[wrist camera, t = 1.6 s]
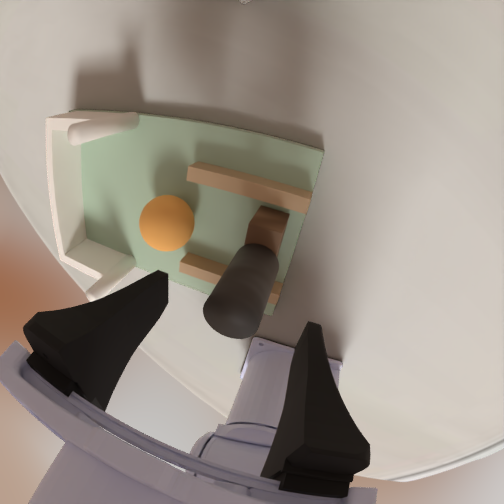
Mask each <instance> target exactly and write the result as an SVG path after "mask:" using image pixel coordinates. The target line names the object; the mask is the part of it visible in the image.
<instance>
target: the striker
mask: <svg viewBox="0 0 504 504" xmlns="http://www.w3.org/2000/svg"><path fill="white" fill-rule="evenodd" d="M289 216H290V214H289V213H285V212H282V211H279V210H276V209H272V208H269V207H265V206H262V205H261V206H260V207H259V209H258V210H257V212H256V213H255V215H254V216H253V218H252V219H251V221H250V222H249V224H248V229H247V234H246V238H245V243H244V246H242V247H241V248H240V249H239V250H238V251H237V252H236V254H235V256H234V257H233V259H232V260H231V262H230V264H229V265H228V267H227V268H226V270H225V272H224V273H223V275H222V276H221V278H220V280H219V281H218V283H217V284H216V286H215V288H214V289H213V291H212V293H211V294H210V296H209V297H208V299H207V301H206V302H205V304H204V307H203V314H204V317H205V319H206V321H207V323H208V324H209V325H210V326H211V327H212V328H213V329H214V330H215V331H217V332H218V333H220V334H222V335H224V336H227V337H230V338H235V339H243V338H248V337H250V336H252V335H254V334H255V333H256V331H257V330H258V327H259V325H260V322H261V319H262V316H263V313H264V311H265V308H266V305H267V302H268V299H269V296H270V294H271V291H272V288H273V285H274V282H275V279H276V276H277V273H278V270H279V261H278V258H277V257H278V253H279V250H280V247H281V243H282V240H283V236H284V233H285V230H286V226H287V223H288V219H289Z"/></svg>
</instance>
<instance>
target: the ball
mask: <svg viewBox="0 0 504 504" xmlns="http://www.w3.org/2000/svg"><path fill="white" fill-rule="evenodd" d="M194 225H195V221H194V215H193V212H192V210H191V208H190V206H189V205H188V204H187V203H186V202H185V201H184V200H182V199H181V198H179V197H176V196H173V195H162V196H158V197H156V198H154V199H152V200H151V201H149V202H148V203H147V204H146V205H145V207H144V208H143V210H142V212H141V215H140V219H139V228H140V232H141V235H142V237H143V239H144V240H145V242H146V243H147V244H148V245H149V246H151V247H152V248H154V249H156V250H159V251H166V252H167V251H174V250H177V249H179V248H181V247H182V246H184V245H185V244H186V243H187V242H188V241H189V239H190V238H191V236H192V234H193V231H194Z"/></svg>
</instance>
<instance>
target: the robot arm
mask: <svg viewBox="0 0 504 504" xmlns="http://www.w3.org/2000/svg"><path fill="white" fill-rule="evenodd" d="M167 304H168V273H166V272H163V271H160V270H157V271H155V272H153V273H151V274H149V275H147V276H145V277H144V278H142V279H140V280H138V281H136V282H134V283H132V284H130V285H129V286H127V287H125V288H123V289H121V290H118V291H116V292H114V293H112V294H110V295H108V296H105V297H103V298H100V299H98V300H95V301H92V302H89V303H86V304H82V305H78V306H75V307H71V308H66V309H61V310H54V311H45V312H38V313H36V314H35V315H34V316H33V317H32V319H30V320H29V321H28V323H26V324H25V325H24V327H23V331H24V334H25V336H26V338H27V340H28V342H29V343H30V345H31V347H32V349H33V351H34V352H33V353H32V354H30V353H29V352H28V351H27V350H26V349H25V348H24V347H23V346H22V345H21V344H20V343H19V342H18V341H16V340H15V341H14V342H13V343H12V344H11V345H10V346H9V347H8V349H7V350H6V351H5V352H4V353H3V354H2V355H1V356H0V382H1V383H2V384H3V386H4V387H5V388H6V389H7V390H8V391H9V392H10V393H11V395H12V396H13V397H15V399H16V400H18V402H19V403H20V404H22V405H23V406H24V407H25V408H26V409H27V410H28V411H29V412H30V413H31V414H32V415H33V416H34V417H35V418H37V419H38V420H39V421H40V422H41V423H42V424H43V425H45V426H46V427H47V428H48V429H49V430H51V431H52V432H53V433H54V434H55V435H57V436H58V437H59V438H60V439H62V440H63V441H64V442H66V443H65V444H64V446H63V447H62V449H61V450H60V452H59V453H58V455H57V457H56V458H55V460H54V462H53V463H52V465H51V466H50V468H49V469H48V471H47V473H46V474H45V476H44V478H43V479H42V481H41V483H40V484H39V486H38V488H37V489H36V491H35V493H34V495H33V496H32V498H31V500H30V501H29V503H28V504H376V497H377V488H365V487H351V488H349V484H350V482H352V481H353V476H354V474H356V473H358V472H360V471H362V470H364V469H365V468H367V467H368V466H369V464H370V444H369V443H368V441H367V440H366V439H365V437H364V436H363V435H362V433H361V432H360V431H359V429H358V428H357V426H356V424H355V423H354V421H353V419H352V417H351V416H350V414H349V412H348V410H347V408H346V406H345V404H344V402H343V400H342V398H341V396H340V393H339V391H338V384H339V371H340V370H341V368H342V366H343V363H342V362H340V361H337V360H333V359H329V358H328V357H327V353H326V349H325V344H324V339H323V334H322V327H321V325H319V324H316V323H313V322H309V321H308V323H307V325H306V327H305V329H304V331H303V333H302V335H301V337H300V339H299V341H298V343H297V345H296V347H295V349H294V348H291V347H288V346H284V345H281V344H278V343H275V342H272V341H268V340H265V339H262V338H259V337H254V338H253V339H252V342H251V345H250V348H249V351H248V354H247V357H246V360H245V363H244V366H243V369H242V372H241V375H240V378H241V379H242V382H241V385H240V388H239V390H238V393H237V395H236V398H235V401H234V403H233V406H232V409H231V411H230V414H229V416H228V419H227V422H226V424H225V425H223V424H218V427H217V429H216V432H208V433H206V434H205V435H204V436H202V437H201V438H199V439H198V440H197V441H196V443H195V444H194V446H193V447H192V450H191V452H190V454H188V453H186V452H183V451H181V450H178V449H176V448H174V447H171V446H169V445H167V444H165V443H162V442H160V441H158V440H156V439H154V438H152V437H150V436H148V435H146V434H144V433H142V432H140V431H138V430H136V429H134V428H132V427H130V426H128V425H127V424H125V423H123V422H121V421H119V420H118V419H116V418H114V417H112V416H111V415H109V414H107V413H106V412H105V410H106V407H107V405H108V403H109V400H110V398H111V395H112V393H113V391H114V389H115V387H116V384H117V382H118V380H119V378H120V377H121V375H122V373H123V371H124V369H125V367H126V365H127V363H128V362H129V360H130V358H131V356H132V355H133V353H134V352H135V350H136V349H137V347H138V346H139V345H140V343H141V342H142V341H143V339H144V338H145V337H146V335H147V334H148V333H149V331H150V330H151V329H152V327H153V326H154V325H155V323H156V322H157V321H158V319H159V318H160V316H161V315H162V313H163V311H164V309H165V308H166V306H167ZM100 426H101V427H100ZM103 428H104V429H105V430H107V431H109V432H111V433H112V434H114V435H116V436H117V437H116V436H114V435H112V434H111V433H109V432H107V431H105V430H104V429H103ZM118 437H119V438H121V439H123V440H125V441H126V442H124V441H122V440H121V439H119V438H118ZM127 442H128V443H130V444H132V445H134V446H136V447H138V448H140V449H141V450H140V449H138V448H136V447H134V446H132V445H130V444H128V443H127ZM142 450H143V451H142ZM144 451H145V452H144ZM146 452H148V453H150V454H152V455H154V456H156V457H158V458H160V459H162V460H165V461H167V462H169V463H172V464H174V465H176V466H179V467H181V468H184V469H186V473H185V472H183V471H181V470H179V469H177V468H175V467H173V466H171V465H170V464H168V463H166V462H164V461H162V460H160V459H158V458H156V457H154V456H152V455H150V454H147V453H146Z"/></svg>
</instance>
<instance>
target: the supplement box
mask: <svg viewBox="0 0 504 504" xmlns="http://www.w3.org/2000/svg"><path fill="white" fill-rule="evenodd" d="M239 1H240V2H241V3H242V4H246V3H248V2H250V1H252V0H239Z"/></svg>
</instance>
